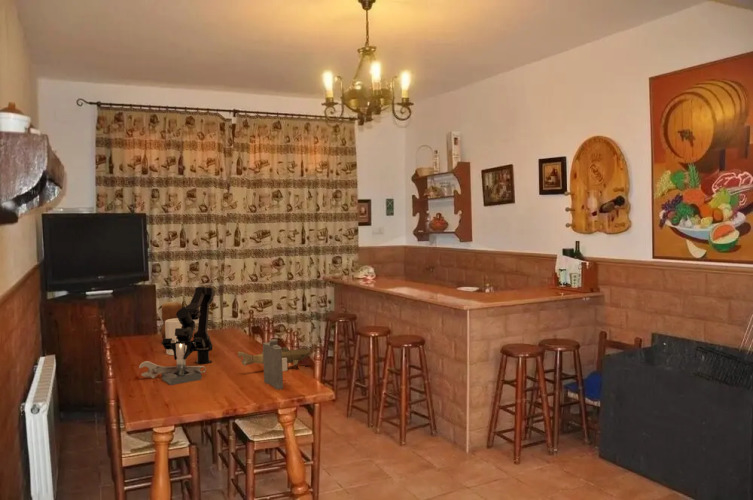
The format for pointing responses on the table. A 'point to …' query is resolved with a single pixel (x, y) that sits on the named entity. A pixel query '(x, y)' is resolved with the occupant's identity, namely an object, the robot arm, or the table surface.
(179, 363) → the pin
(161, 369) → the wrench
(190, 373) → the grey square frame
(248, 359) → the wood carving
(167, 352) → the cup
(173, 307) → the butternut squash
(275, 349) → the hip flask
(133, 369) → the table surface
